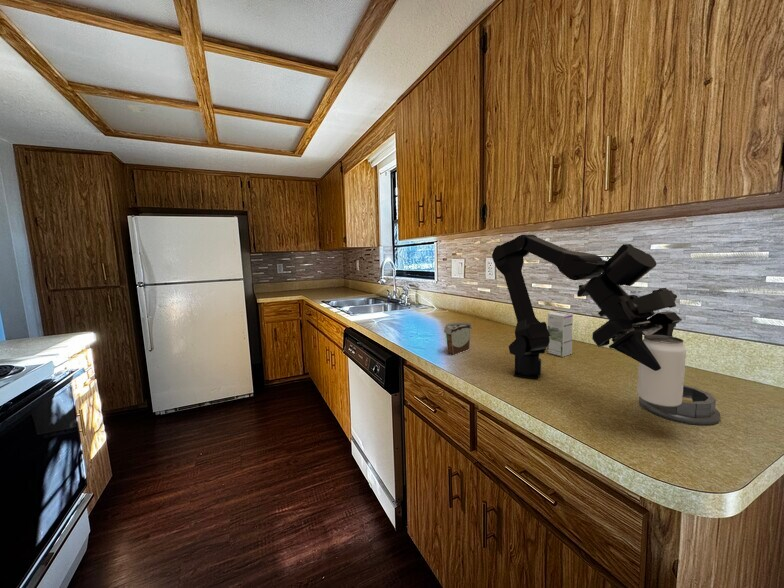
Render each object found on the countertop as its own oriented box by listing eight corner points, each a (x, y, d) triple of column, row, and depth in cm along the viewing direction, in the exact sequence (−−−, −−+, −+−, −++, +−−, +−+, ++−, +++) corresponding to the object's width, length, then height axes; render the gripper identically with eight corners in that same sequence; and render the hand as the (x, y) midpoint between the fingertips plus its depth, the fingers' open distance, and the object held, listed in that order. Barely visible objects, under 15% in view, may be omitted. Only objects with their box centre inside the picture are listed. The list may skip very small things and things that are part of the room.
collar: (645, 416, 65) (646, 395, 65) (633, 392, 76) (634, 374, 76) (732, 431, 59) (734, 408, 58) (705, 402, 70) (707, 383, 70)
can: (634, 390, 64) (638, 332, 62) (676, 396, 60) (681, 336, 59) (640, 403, 58) (644, 340, 57) (686, 411, 55) (692, 345, 53)
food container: (458, 346, 121) (458, 320, 120) (471, 349, 117) (471, 323, 116) (437, 353, 114) (436, 326, 113) (450, 356, 109) (450, 328, 108)
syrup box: (572, 354, 106) (573, 312, 105) (562, 357, 103) (563, 314, 102) (556, 350, 111) (557, 310, 110) (546, 353, 108) (547, 312, 107)
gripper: (610, 277, 57) (679, 352, 48) (673, 272, 63) (744, 337, 54) (570, 312, 65) (622, 382, 56) (629, 305, 72) (684, 366, 63)
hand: (669, 366), depth 57 cm, fingers closed on can, 6 cm apart
